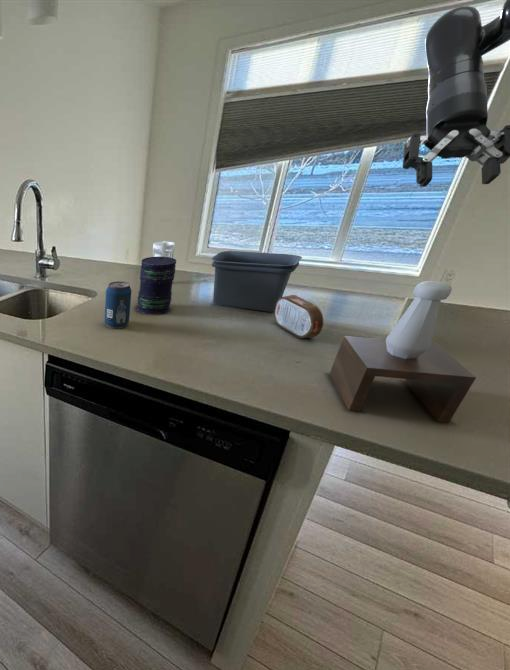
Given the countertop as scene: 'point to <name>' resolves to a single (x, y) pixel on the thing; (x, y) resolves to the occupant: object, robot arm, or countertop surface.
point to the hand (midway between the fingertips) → (457, 182)
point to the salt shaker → (418, 321)
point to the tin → (298, 316)
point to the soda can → (117, 304)
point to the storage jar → (156, 285)
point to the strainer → (163, 249)
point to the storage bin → (251, 278)
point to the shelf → (400, 374)
